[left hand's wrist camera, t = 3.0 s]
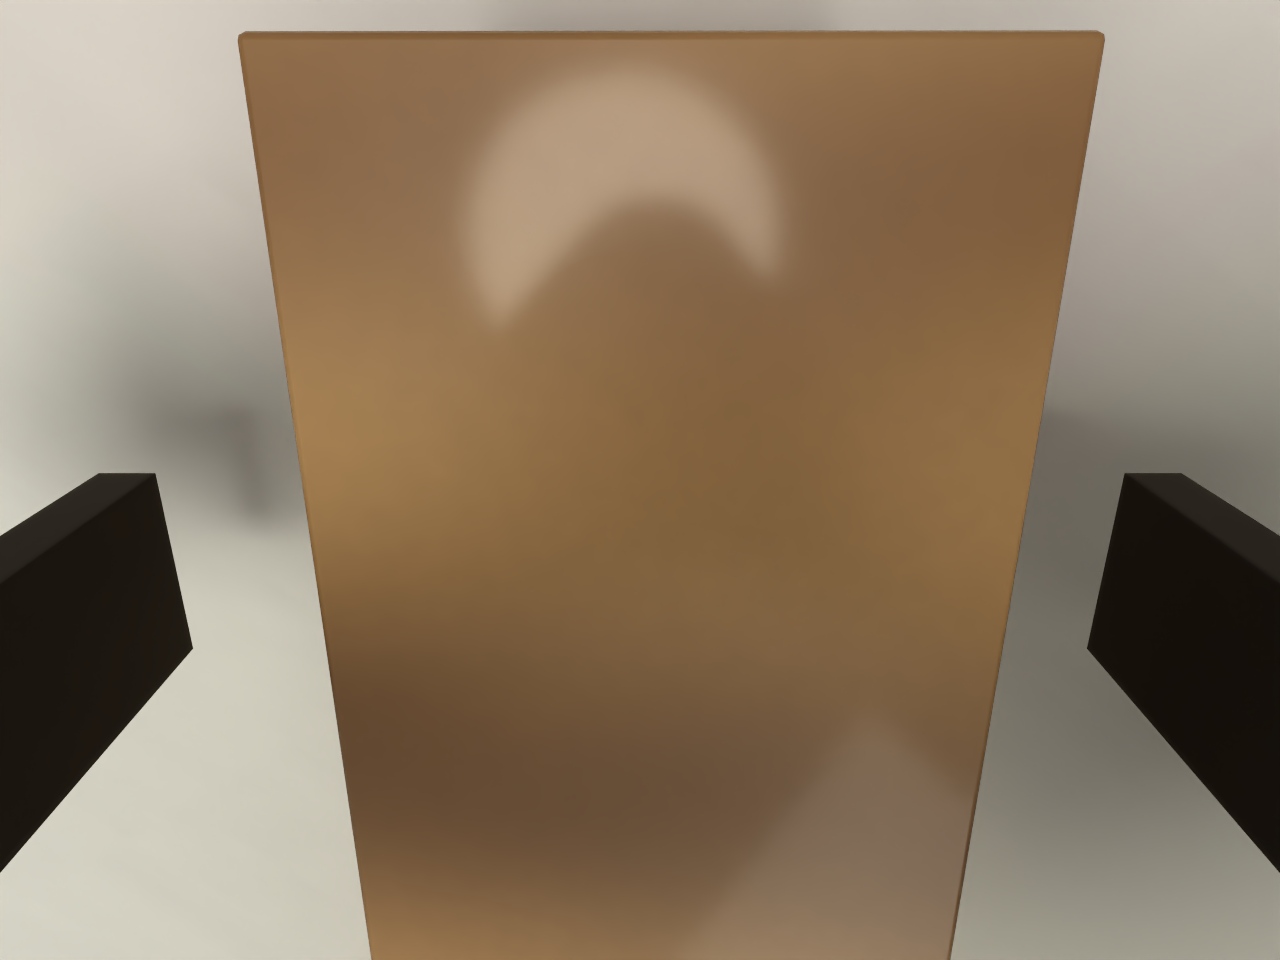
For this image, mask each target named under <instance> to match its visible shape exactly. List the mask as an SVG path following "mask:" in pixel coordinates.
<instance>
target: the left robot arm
mask: <svg viewBox="0 0 1280 960" xmlns="http://www.w3.org/2000/svg"><path fill="white" fill-rule="evenodd" d="M192 649H193V646H192V642H191V637H190V632H189V628H188V623H187V618H186V614H185V609H184V605H183V600H182V595H181V591H180V586H179V581H178V577H177V572H176V567H175V563H174V558H173V553H172V549H171V544H170V539H169V535H168V530H167V525H166V521H165V516H164V512H163V507H162V502H161V498H160V493H159V488H158V484H157V479H156V474H155V473H98V474H97V475H95V476H94V477H92V478H91V479H89V480H87V481H86V482H84V483H83V484H81V485H80V486H78V487H76V488H75V489H73V490H72V491H70V492H69V493H67V494H65V495H64V496H62V497H61V498H59V499H58V500H56V501H54V502H53V503H51V504H50V505H48V506H47V507H45V508H43V509H42V510H40V511H39V512H37V513H36V514H34V515H33V516H31V517H29V518H28V519H26V520H25V521H23V522H22V523H20V524H18V525H17V526H15V527H14V528H12V529H11V530H9V531H7V532H6V533H4V534H3V535H1V536H0V872H1V871H2V870H3V869H4V868H5V867H6V865H7V864H8V863H9V862H10V861H11V860H12V858H13V857H14V856H15V855H16V854H17V853H18V851H19V850H20V849H21V848H22V847H23V846H24V844H25V843H26V842H27V841H28V840H29V839H30V837H31V836H32V835H33V834H34V833H35V832H36V830H37V829H38V828H39V827H40V826H41V825H42V824H43V822H44V821H45V820H46V819H47V818H48V817H49V815H50V814H51V813H52V812H53V811H54V810H55V808H56V807H57V806H58V805H59V804H60V803H61V801H62V800H63V799H64V798H65V797H66V796H67V794H68V793H69V792H70V791H71V790H72V789H73V787H74V786H75V785H76V784H77V783H78V782H79V780H80V779H81V778H82V777H83V776H84V775H85V773H86V772H87V771H88V770H89V769H90V768H91V767H92V765H93V764H94V763H95V762H96V761H97V760H98V758H99V757H100V756H101V755H102V754H103V753H104V751H105V750H106V749H107V748H108V747H109V746H110V744H111V743H112V742H113V741H114V740H115V739H116V737H117V736H118V735H119V734H120V733H121V732H122V730H123V729H124V728H125V727H126V726H127V725H128V723H129V722H130V721H131V720H132V719H133V718H134V717H135V715H136V714H137V713H138V712H139V711H140V710H141V708H142V707H143V706H144V705H145V704H146V703H147V701H148V700H149V699H150V698H151V697H152V696H153V694H154V693H155V692H156V691H157V690H158V689H159V687H160V686H161V685H162V684H163V683H164V682H165V680H166V679H167V678H168V677H169V676H170V675H171V673H172V672H173V671H174V670H175V669H176V668H177V666H178V665H179V664H180V663H181V662H182V661H183V660H184V658H185V657H186V656H187V655H188V654H189V653H190V651H191V650H192ZM1087 649H1088V650H1089V651H1090V653H1091V654H1092V655H1093V656H1094V657H1095V658H1096V660H1097V661H1098V662H1099V663H1100V664H1101V665H1102V667H1103V668H1104V669H1105V670H1106V671H1107V672H1108V673H1109V675H1110V676H1111V677H1112V678H1113V679H1114V680H1115V682H1116V683H1117V684H1118V685H1119V686H1120V687H1121V689H1122V690H1123V691H1124V692H1125V693H1126V694H1127V696H1128V697H1129V698H1130V699H1131V700H1132V701H1133V703H1134V704H1135V705H1136V706H1137V707H1138V708H1139V710H1140V711H1141V712H1142V713H1143V714H1144V715H1145V717H1146V718H1147V719H1148V720H1149V721H1150V722H1151V723H1152V725H1153V726H1154V727H1155V728H1156V729H1157V730H1158V732H1159V733H1160V734H1161V735H1162V736H1163V737H1164V739H1165V740H1166V741H1167V742H1168V743H1169V744H1170V746H1171V747H1172V748H1173V749H1174V750H1175V751H1176V753H1177V754H1178V755H1179V756H1180V757H1181V758H1182V760H1183V761H1184V762H1185V763H1186V764H1187V765H1188V767H1189V768H1190V769H1191V770H1192V771H1193V772H1194V773H1195V775H1196V776H1197V777H1198V778H1199V779H1200V780H1201V782H1202V783H1203V784H1204V785H1205V786H1206V787H1207V789H1208V790H1209V791H1210V792H1211V793H1212V794H1213V796H1214V797H1215V798H1216V799H1217V800H1218V801H1219V803H1220V804H1221V805H1222V806H1223V807H1224V808H1225V810H1226V811H1227V812H1228V813H1229V814H1230V815H1231V817H1232V818H1233V819H1234V820H1235V821H1236V822H1237V824H1238V825H1239V826H1240V827H1241V828H1242V829H1243V830H1244V832H1245V833H1246V834H1247V835H1248V836H1249V837H1250V839H1251V840H1252V841H1253V842H1254V843H1255V844H1256V846H1257V847H1258V848H1259V849H1260V850H1261V851H1262V853H1263V854H1264V855H1265V856H1266V857H1267V858H1268V860H1269V861H1270V862H1271V863H1272V864H1273V865H1274V867H1275V868H1276V869H1277V870H1278V871H1279V872H1280V536H1279V535H1277V534H1276V533H1274V532H1273V531H1271V530H1269V529H1268V528H1266V527H1265V526H1263V525H1262V524H1260V523H1258V522H1257V521H1255V520H1254V519H1252V518H1251V517H1249V516H1247V515H1246V514H1244V513H1243V512H1241V511H1240V510H1238V509H1237V508H1235V507H1233V506H1232V505H1230V504H1229V503H1227V502H1226V501H1224V500H1222V499H1221V498H1219V497H1218V496H1216V495H1215V494H1213V493H1211V492H1210V491H1208V490H1207V489H1205V488H1204V487H1202V486H1200V485H1199V484H1197V483H1196V482H1194V481H1193V480H1191V479H1189V478H1188V477H1186V476H1185V475H1183V474H1182V473H1125V474H1124V479H1123V484H1122V488H1121V493H1120V498H1119V502H1118V507H1117V512H1116V516H1115V521H1114V525H1113V530H1112V535H1111V539H1110V544H1109V549H1108V553H1107V558H1106V563H1105V567H1104V572H1103V577H1102V581H1101V586H1100V591H1099V595H1098V600H1097V605H1096V609H1095V614H1094V618H1093V623H1092V628H1091V632H1090V637H1089V642H1088V646H1087Z"/></svg>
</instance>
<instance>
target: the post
mask: <svg viewBox="0 0 1280 960" xmlns="http://www.w3.org/2000/svg"><path fill="white" fill-rule="evenodd" d="M1104 42H1105V38H1104V34H1103V33H1101V32H1099V31H246V32H244V33H242V34H240V35H239V36H238V46H239V52H240V59H241V66H242V73H243V80H244V87H245V94H246V101H247V107H248V114H249V121H250V128H251V135H252V142H253V149H254V155H255V162H256V169H257V176H258V183H259V190H260V197H261V204H262V210H263V217H264V224H265V231H266V238H267V245H268V252H269V258H270V265H271V272H272V279H273V286H274V293H275V300H276V307H277V313H278V320H279V327H280V334H281V341H282V348H283V355H284V362H285V368H286V375H287V382H288V389H289V396H290V403H291V410H292V416H293V423H294V430H295V437H296V444H297V451H298V458H299V465H300V471H301V478H302V485H303V492H304V499H305V506H306V513H307V519H308V526H309V533H310V540H311V547H312V554H313V561H314V568H315V574H316V581H317V588H318V595H319V602H320V609H321V616H322V622H323V629H324V636H325V643H326V650H327V657H328V664H329V671H330V677H331V684H332V691H333V698H334V705H335V712H336V719H337V726H338V732H339V739H340V746H341V753H342V760H343V767H344V774H345V780H346V787H347V794H348V801H349V808H350V815H351V822H352V829H353V835H354V842H355V849H356V856H357V863H358V870H359V877H360V883H361V890H362V897H363V904H364V911H365V918H366V925H367V932H368V938H369V945H370V952H371V959H372V960H950V957H951V951H952V945H953V939H954V933H955V928H956V922H957V916H958V910H959V904H960V898H961V892H962V886H963V880H964V874H965V868H966V862H967V856H968V850H969V844H970V838H971V832H972V826H973V821H974V815H975V809H976V803H977V797H978V791H979V785H980V779H981V773H982V767H983V761H984V755H985V749H986V743H987V737H988V731H989V725H990V720H991V714H992V708H993V702H994V696H995V690H996V684H997V678H998V672H999V666H1000V660H1001V654H1002V648H1003V642H1004V636H1005V630H1006V624H1007V618H1008V613H1009V607H1010V601H1011V595H1012V589H1013V583H1014V577H1015V571H1016V565H1017V559H1018V553H1019V547H1020V541H1021V535H1022V529H1023V523H1024V517H1025V512H1026V506H1027V500H1028V494H1029V488H1030V482H1031V476H1032V470H1033V464H1034V458H1035V452H1036V446H1037V440H1038V434H1039V428H1040V422H1041V416H1042V410H1043V405H1044V399H1045V393H1046V387H1047V381H1048V375H1049V369H1050V363H1051V357H1052V351H1053V345H1054V339H1055V333H1056V327H1057V321H1058V315H1059V309H1060V303H1061V298H1062V292H1063V286H1064V280H1065V274H1066V268H1067V262H1068V256H1069V250H1070V244H1071V238H1072V232H1073V226H1074V220H1075V214H1076V208H1077V202H1078V197H1079V191H1080V185H1081V179H1082V173H1083V167H1084V161H1085V155H1086V149H1087V143H1088V137H1089V131H1090V125H1091V119H1092V113H1093V107H1094V101H1095V95H1096V90H1097V84H1098V78H1099V72H1100V66H1101V60H1102V54H1103V48H1104Z"/></svg>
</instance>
